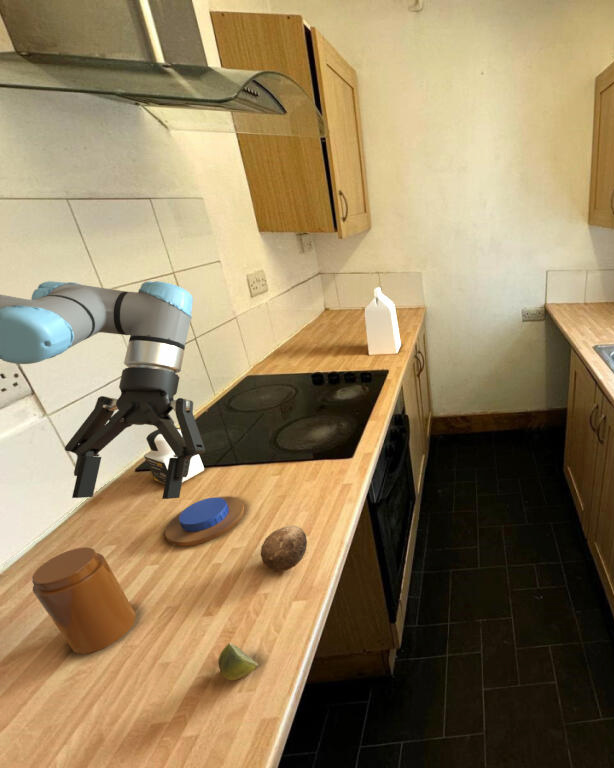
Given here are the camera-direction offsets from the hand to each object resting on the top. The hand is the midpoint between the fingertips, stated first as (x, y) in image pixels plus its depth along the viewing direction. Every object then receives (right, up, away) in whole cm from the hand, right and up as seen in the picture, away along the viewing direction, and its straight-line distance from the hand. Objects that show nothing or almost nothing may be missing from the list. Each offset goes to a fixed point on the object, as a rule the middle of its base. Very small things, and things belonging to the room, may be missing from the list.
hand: (126, 498), depth 67 cm
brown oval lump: (+22, -13, +8) cm, 27 cm away
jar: (+1, -19, -5) cm, 19 cm away
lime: (+25, -21, -10) cm, 35 cm away
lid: (+1, -7, +15) cm, 17 cm away
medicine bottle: (-16, -3, +31) cm, 35 cm away
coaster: (+1, -9, +16) cm, 19 cm away
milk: (+8, +33, +111) cm, 117 cm away
